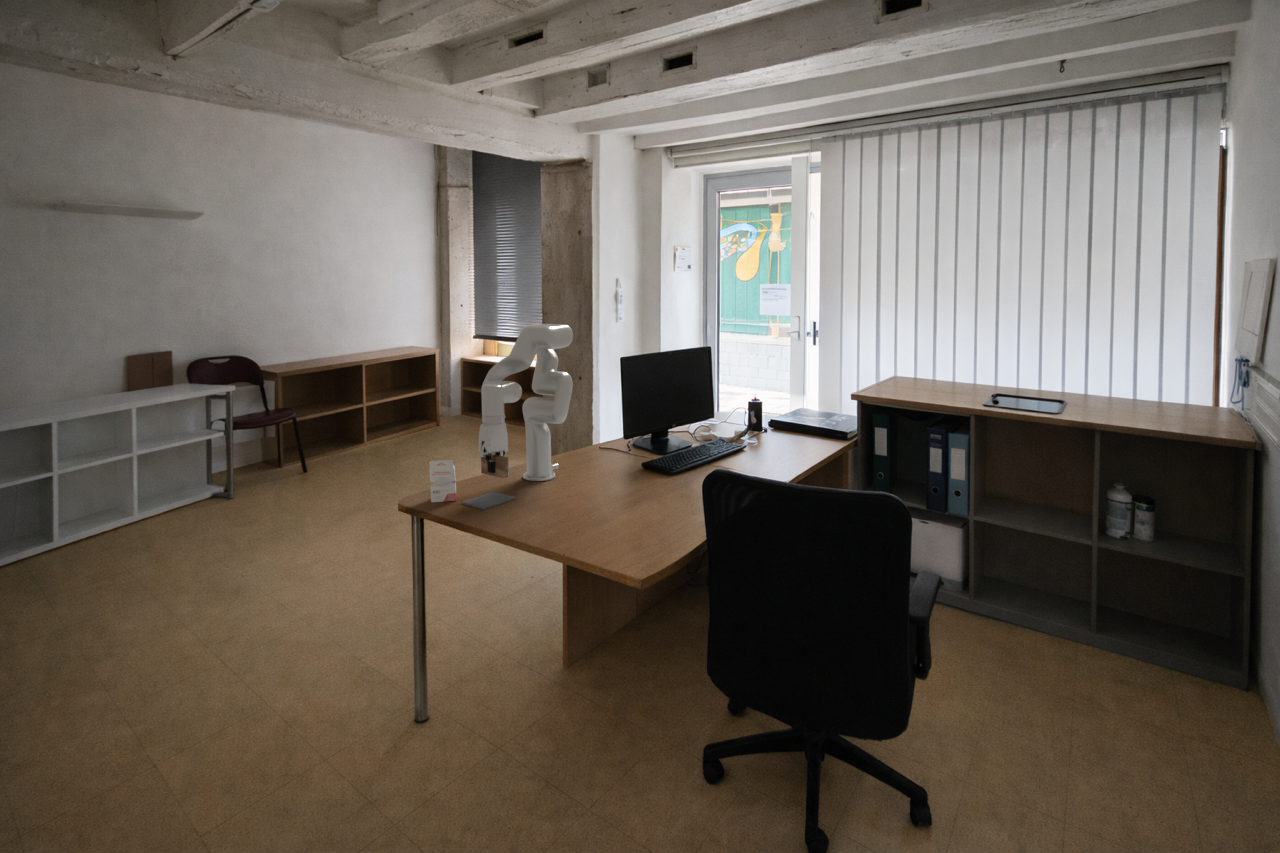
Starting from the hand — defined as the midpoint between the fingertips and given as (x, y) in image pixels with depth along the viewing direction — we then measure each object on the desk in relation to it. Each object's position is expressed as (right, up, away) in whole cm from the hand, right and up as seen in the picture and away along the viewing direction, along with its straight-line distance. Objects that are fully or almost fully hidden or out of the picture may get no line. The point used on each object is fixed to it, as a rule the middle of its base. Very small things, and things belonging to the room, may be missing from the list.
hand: (494, 471), depth 246 cm
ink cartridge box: (-18, -10, +1) cm, 21 cm away
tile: (0, -1, 0) cm, 1 cm away
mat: (-2, -10, 0) cm, 11 cm away
